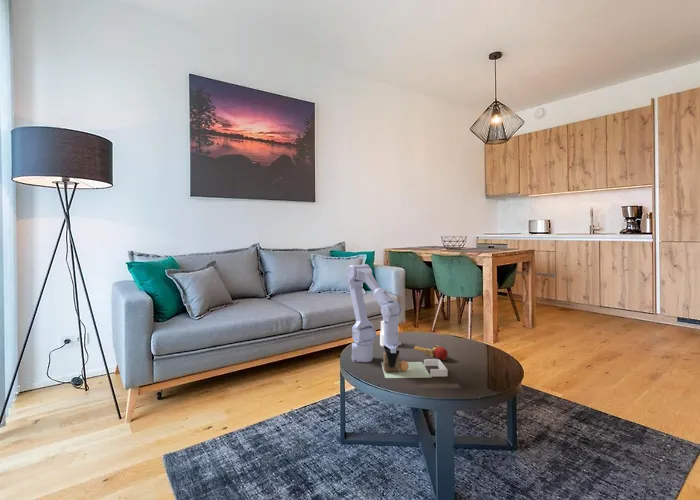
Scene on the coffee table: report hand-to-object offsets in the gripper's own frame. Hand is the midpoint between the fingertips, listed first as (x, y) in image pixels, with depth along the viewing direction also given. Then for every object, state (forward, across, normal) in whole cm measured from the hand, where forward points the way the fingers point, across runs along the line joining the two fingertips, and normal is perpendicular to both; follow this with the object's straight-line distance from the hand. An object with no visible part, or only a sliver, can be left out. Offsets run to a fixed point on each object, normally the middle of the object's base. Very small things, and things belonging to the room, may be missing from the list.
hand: (391, 365), depth 138 cm
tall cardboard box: (+2, 0, 0) cm, 2 cm away
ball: (0, 0, -5) cm, 5 cm away
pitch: (+4, +2, -9) cm, 10 cm away
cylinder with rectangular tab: (+4, +40, -4) cm, 40 cm away
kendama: (+4, +21, -21) cm, 30 cm away
